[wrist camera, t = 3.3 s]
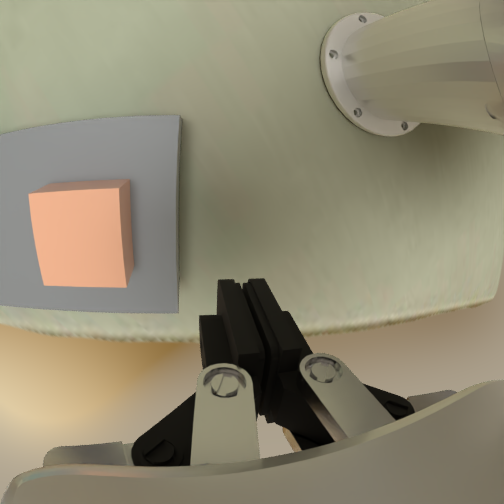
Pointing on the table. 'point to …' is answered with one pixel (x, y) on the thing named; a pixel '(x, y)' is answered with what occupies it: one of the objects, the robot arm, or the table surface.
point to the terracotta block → (83, 233)
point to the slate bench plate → (89, 169)
